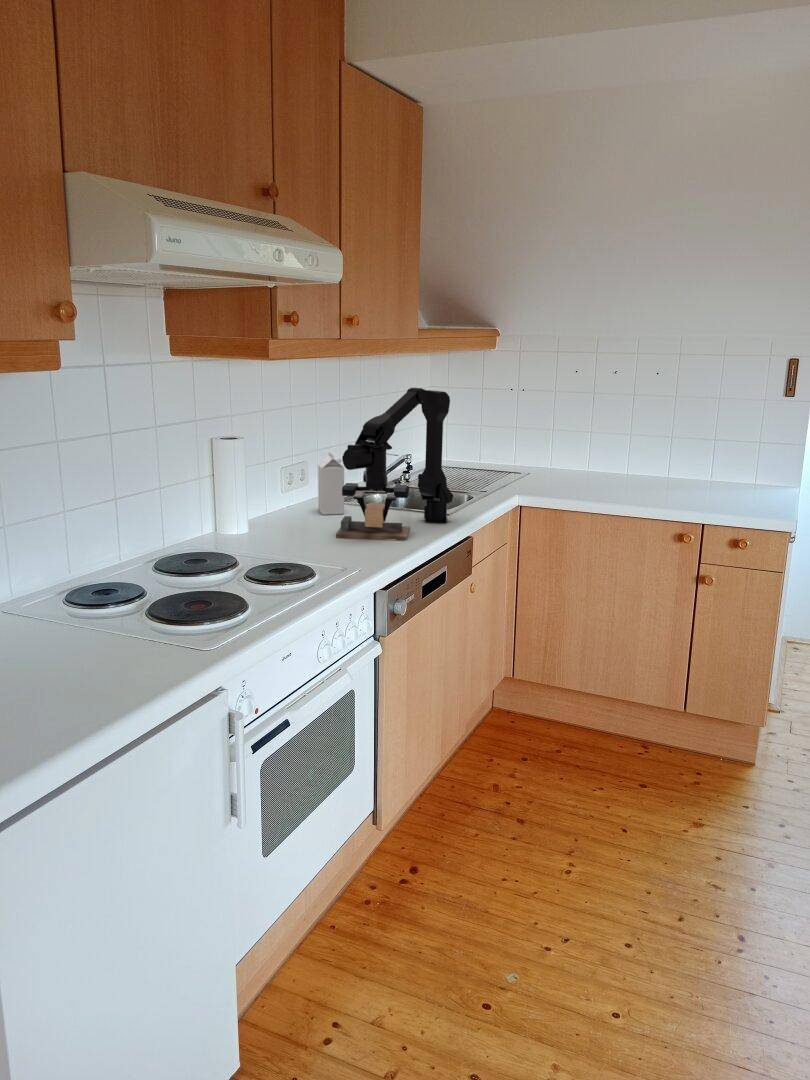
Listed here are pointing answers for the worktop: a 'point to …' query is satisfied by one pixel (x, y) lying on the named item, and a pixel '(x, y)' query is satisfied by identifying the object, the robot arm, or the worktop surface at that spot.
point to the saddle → (374, 515)
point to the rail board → (375, 534)
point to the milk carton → (330, 486)
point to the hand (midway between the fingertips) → (375, 519)
